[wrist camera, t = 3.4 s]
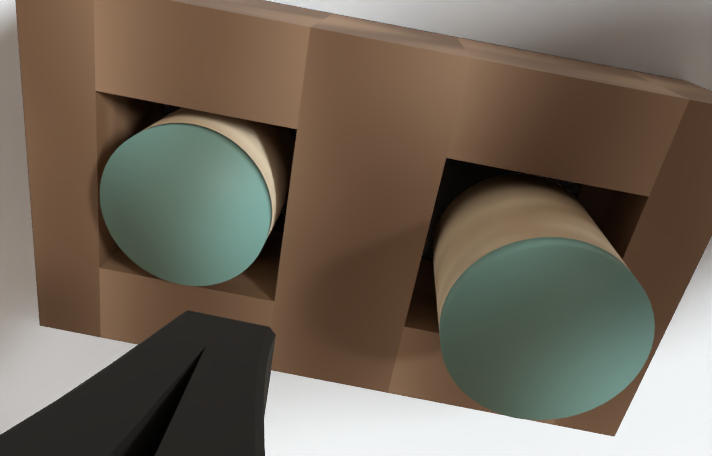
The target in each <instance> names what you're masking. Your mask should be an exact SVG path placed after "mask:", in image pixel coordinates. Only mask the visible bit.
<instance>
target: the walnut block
mask: <svg viewBox="0 0 712 456" xmlns="http://www.w3.org/2000/svg"><path fill="white" fill-rule="evenodd" d="M15 1H16V14H17V27H18V41H19V54H20V67H21V81H22V94H23V107H24V121H25V134H26V147H27V161H28V174H29V187H30V201H31V214H32V227H33V241H34V254H35V268H36V281H37V294H38V308H39V321H40V326H45V327H50V328H56V329H61V330H66V331H71V332H76V333H81V334H87V335H92V336H97V337H102V338H107V339H113V340H118V341H123V342H128V343H133V344H138V345H139V344H140V343H141V342H143V341H144V340H146V339H147V338H148V337H150V336H151V335H152V334H154V333H155V332H157V331H158V330H159V329H161V328H162V327H164V326H165V325H166V324H168V323H169V322H171V321H172V320H173V319H175V318H176V317H178V316H179V315H181V314H182V313H184V312H186V311H187V310H189V311H194V312H199V313H204V314H209V315H214V316H219V317H224V318H229V319H234V320H239V321H244V322H249V323H254V324H259V325H263V326H268V327H270V328H271V329H272V331H273V332H274V333H275V334H276V338H275V345H274V352H273V359H272V366H271V370H273V371H278V372H283V373H289V374H294V375H299V376H304V377H309V378H314V379H320V380H325V381H330V382H335V383H340V384H346V385H351V386H356V387H361V388H366V389H371V390H377V391H382V392H387V393H392V394H397V395H402V396H408V397H413V398H418V399H423V400H428V401H434V402H439V403H444V404H449V405H454V406H459V407H465V408H470V409H475V410H480V411H485V412H491V413H496V414H500V413H497V412H494V411H491V410H489V409H487V408H485V407H483V406H481V405H480V404H478V403H477V402H475V401H474V400H472V399H471V398H470V397H469V396H467V395H466V394H465V393H464V392H463V391H462V390H461V389H460V388H459V387H458V386H457V384H456V383H455V382H454V380H453V379H452V377H451V376H450V374H449V373H448V370H447V368H446V366H445V364H444V360H443V357H442V353H441V345H440V334H439V322H438V311H437V299H436V288H435V276H434V265H433V261H429V260H424V259H421V257H422V253H423V249H424V245H425V241H426V237H427V233H428V229H429V225H430V221H431V217H432V213H433V209H434V205H435V201H436V197H437V193H438V189H439V185H440V181H441V177H442V173H443V169H444V165H445V161H446V158H449V159H455V160H460V161H465V162H470V163H476V164H481V165H486V166H491V167H496V168H502V169H507V170H512V171H517V172H523V173H528V174H533V175H538V176H543V177H549V178H554V179H559V180H564V181H570V182H575V183H580V184H582V185H581V188H580V190H579V193H578V196H577V199H578V200H579V202H580V203H581V205H582V206H583V207H584V209H585V210H586V211H587V213H588V214H589V215H590V217H591V218H592V219H593V221H594V222H595V223H596V225H597V226H598V228H599V229H600V230H601V232H602V233H603V234H604V236H605V237H606V238H607V240H608V241H609V242H610V244H611V245H612V247H613V248H614V249H615V251H616V252H617V253H618V255H619V256H620V257H621V259H622V260H623V261H624V263H625V264H626V265H627V267H628V268H629V270H630V271H631V272H632V274H633V275H634V276H635V278H636V279H637V280H638V282H639V283H640V285H641V286H642V287H643V289H644V290H645V292H646V294H647V296H648V298H649V300H650V303H651V306H652V310H653V313H654V322H655V330H654V339H653V344H652V348H651V351H650V353H649V356H648V358H647V360H646V362H645V364H644V366H643V367H642V369H641V371H640V372H639V373H638V375H637V376H636V377H635V379H634V380H633V381H632V382H631V383H630V384H629V385H628V386H627V387H626V388H625V389H624V390H622V391H621V392H620V393H619V394H617V395H616V396H615V397H613V398H612V399H610V400H609V401H607V402H605V403H604V404H602V405H600V406H598V407H596V408H594V409H592V410H589V411H586V412H583V413H581V414H577V415H574V416H570V417H565V418H559V419H551V420H532V421H537V422H542V423H547V424H553V425H558V426H563V427H568V428H573V429H579V430H584V431H589V432H594V433H599V434H604V435H610V436H615V434H616V432H617V430H618V428H619V426H620V424H621V422H622V420H623V418H624V416H625V414H626V411H627V409H628V407H629V405H630V403H631V401H632V399H633V397H634V395H635V393H636V391H637V389H638V387H639V385H640V383H641V381H642V379H643V376H644V374H645V372H646V370H647V368H648V366H649V364H650V362H651V360H652V358H653V356H654V354H655V352H656V350H657V348H658V346H659V343H660V341H661V339H662V337H663V335H664V333H665V331H666V329H667V327H668V325H669V323H670V321H671V319H672V317H673V315H674V313H675V310H676V308H677V306H678V304H679V302H680V300H681V298H682V296H683V294H684V292H685V290H686V288H687V286H688V284H689V282H690V280H691V277H692V275H693V273H694V271H695V269H696V267H697V265H698V263H699V261H700V259H701V257H702V255H703V253H704V251H705V249H706V247H707V245H708V242H709V240H710V238H711V236H712V91H710V90H707V89H705V88H702V87H700V86H697V85H695V84H692V83H690V82H687V81H684V80H679V79H673V78H668V77H663V76H658V75H652V74H647V73H642V72H637V71H631V70H626V69H621V68H616V67H610V66H605V65H600V64H595V63H590V62H584V61H579V60H574V59H569V58H563V57H558V56H553V55H548V54H542V53H537V52H532V51H527V50H521V49H516V48H511V47H506V46H500V45H495V44H490V43H485V42H479V41H474V40H469V39H464V38H458V37H453V36H448V35H443V34H437V33H432V32H427V31H422V30H416V29H411V28H406V27H401V26H395V25H390V24H385V23H380V22H375V21H369V20H364V19H359V18H354V17H348V16H343V15H338V14H333V13H327V12H322V11H317V10H312V9H306V8H301V7H296V6H291V5H285V4H280V3H275V2H270V1H264V0H15ZM163 104H167V105H173V106H178V107H183V108H188V109H194V110H199V111H204V112H209V113H214V114H220V115H225V116H230V117H235V118H241V119H246V120H251V121H256V122H261V123H267V124H272V125H277V126H282V127H288V128H293V129H297V133H296V141H295V149H294V156H293V164H292V171H291V179H290V187H289V194H288V202H287V210H286V217H285V225H284V232H278V231H273V230H271V232H270V234H269V236H268V238H267V240H266V242H265V244H264V246H263V247H262V249H261V251H260V253H259V255H258V256H257V258H256V259H255V260H254V262H253V263H252V264H251V265H250V266H249V267H248V268H247V269H246V270H244V271H243V272H242V273H240V274H239V275H237V276H235V277H234V278H232V279H230V280H227V281H224V282H222V283H218V284H214V285H207V286H188V285H180V284H176V283H172V282H169V281H166V280H163V279H161V278H158V277H156V276H154V275H152V274H150V273H149V272H147V271H146V270H144V269H142V268H141V267H140V266H138V265H137V264H136V263H134V262H133V261H132V260H131V259H130V258H129V257H128V256H127V255H126V254H125V253H124V252H123V251H122V250H121V248H120V247H119V246H118V245H117V243H116V242H115V240H114V239H113V237H112V236H111V234H110V232H109V230H108V228H107V226H106V223H105V220H104V218H103V214H102V210H101V205H100V183H101V178H102V174H103V171H104V169H105V166H106V164H107V162H108V160H109V159H110V157H111V156H112V154H113V153H114V152H115V151H116V149H117V148H118V147H119V146H120V145H122V144H123V143H124V142H125V141H127V140H128V139H130V138H131V137H133V136H134V135H136V134H137V133H139V132H141V131H142V130H144V129H146V128H147V127H149V126H151V125H152V124H154V123H156V122H157V121H159V120H161V119H162V118H163ZM501 415H502V414H501Z"/></svg>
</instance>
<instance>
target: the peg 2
mask: <svg viewBox="0 0 712 456" xmlns="http://www.w3.org/2000/svg"><path fill="white" fill-rule="evenodd" d="M432 253H433V265H434V276H435V288H436V299H437V311H438V322H439V334H440V345H441V353H442V357H443V360H444V364H445V366H446V368H447V370H448V373H449V374H450V376H451V377H452V379H453V380H454V382H455V383H456V384H457V386H458V387H459V388H460V389H461V390H462V391H463V392H464V393H465V394H466V395H467V396H469V397H470V398H471V399H472V400H474V401H475V402H477V403H478V404H480V405H481V406H483V407H485V408H487V409H489V410H491V411H494V412H497V413H500V414H502V415H506V416H510V417H514V418H520V419H527V420H551V419H559V418H565V417H570V416H574V415H577V414H581V413H583V412H586V411H589V410H592V409H594V408H596V407H598V406H600V405H602V404H604V403H605V402H607V401H609V400H610V399H612V398H613V397H615V396H616V395H617V394H619V393H620V392H621V391H622V390H624V389H625V388H626V387H627V386H628V385H629V384H630V383H631V382H632V381H633V380H634V379H635V377H636V376H637V375H638V373H639V372H640V371H641V369H642V367H643V366H644V364H645V362H646V360H647V358H648V356H649V353H650V351H651V348H652V344H653V339H654V330H655V322H654V313H653V310H652V306H651V303H650V300H649V298H648V296H647V294H646V292H645V290H644V289H643V287H642V286H641V285H640V283H639V282H638V280H637V279H636V278H635V276H634V275H633V274H632V272H631V271H630V270H629V268H628V267H627V265H626V264H625V263H624V261H623V260H622V259H621V257H620V256H619V255H618V253H617V252H616V251H615V249H614V248H613V247H612V245H611V244H610V242H609V241H608V240H607V238H606V237H605V236H604V234H603V233H602V232H601V230H600V229H599V228H598V226H597V225H596V223H595V222H594V221H593V219H592V218H591V217H590V215H589V214H588V213H587V211H586V210H585V209H584V207H583V206H582V205H581V203H580V202H579V200H578V199H577V198H576V197H575V196H574V195H573V194H572V193H571V192H569V191H568V190H567V189H566V188H564V187H563V186H561V185H559V184H558V183H556V182H554V181H551V180H549V179H546V178H544V177H540V176H536V175H529V174H506V175H500V176H496V177H491V178H489V179H486V180H483V181H480V182H479V183H477V184H475V185H473V186H471V187H469V188H468V189H466V190H465V191H463V192H462V193H461V194H460V195H458V196H457V197H456V198H455V199H454V200H453V201H452V202H451V203H450V205H449V206H448V207H447V208H446V210H445V211H444V213H443V214H442V216H441V218H440V220H439V222H438V224H437V226H436V229H435V232H434V237H433V246H432Z"/></svg>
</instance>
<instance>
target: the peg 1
mask: <svg viewBox="0 0 712 456" xmlns="http://www.w3.org/2000/svg"><path fill="white" fill-rule="evenodd" d="M294 149H295V142H294V139H293V136H292V134H291V132H290V130H289V129H288V127H282V126H277V125H272V124H267V123H261V122H256V121H251V120H246V119H241V118H235V117H230V116H225V115H220V114H214V113H209V112H204V111H199V110H194V109H188V108H183V107H180V108H179V109H177V110H175V111H174V112H172V113H170V114H169V115H167V116H165V117H164V118H162V119H161V120H159V121H157V122H156V123H154V124H152V125H151V126H149V127H147V128H146V129H144V130H142V131H141V132H139V133H137V134H136V135H134V136H133V137H131V138H130V139H128V140H127V141H125V142H124V143H123V144H122V145H120V146H119V147H118V148H117V149H116V151H115V152H114V153H113V154H112V156H111V157H110V159H109V160H108V162H107V164H106V166H105V169H104V171H103V174H102V178H101V183H100V205H101V210H102V214H103V218H104V220H105V223H106V226H107V228H108V230H109V232H110V234H111V236H112V237H113V239H114V240H115V242H116V243H117V245H118V246H119V247H120V248H121V250H122V251H123V252H124V253H125V254H126V255H127V256H128V257H129V258H130V259H131V260H132V261H133V262H134V263H136V264H137V265H138V266H140V267H141V268H142V269H144V270H146V271H147V272H149V273H150V274H152V275H154V276H156V277H158V278H161V279H163V280H166V281H169V282H172V283H176V284H180V285H188V286H207V285H214V284H218V283H222V282H224V281H227V280H230V279H232V278H234V277H235V276H237V275H239V274H240V273H242V272H243V271H244V270H246V269H247V268H248V267H249V266H250V265H251V264H252V263H253V262H254V260H255V259H256V258H257V256H258V255H259V253H260V251H261V249H262V247H263V246H264V244H265V242H266V240H267V238H268V236H269V234H270V232H271V230H272V228H273V226H274V225H275V223H276V221H277V219H278V217H279V215H280V213H281V211H282V209H283V207H284V205H285V203H286V202H287V200H288V194H289V187H290V179H291V171H292V164H293V156H294Z"/></svg>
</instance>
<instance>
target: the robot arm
mask: <svg viewBox="0 0 712 456" xmlns="http://www.w3.org/2000/svg"><path fill="white" fill-rule="evenodd" d="M275 338H276V334H275V333H274V332H273V331H272V329H271V328H270V327H268V326H263V325H259V324H254V323H249V322H244V321H239V320H234V319H229V318H224V317H219V316H214V315H209V314H204V313H199V312H194V311H189V310H187V311H186V312H184V313H182V314H181V315H179V316H178V317H176V318H175V319H173V320H172V321H171V322H169V323H168V324H166V325H165V326H164V327H162V328H161V329H159V330H158V331H157V332H155V333H154V334H152V335H151V336H150V337H148V338H147V339H146V340H144V341H143V342H141V343H140V344H139V345H137V346H136V347H134V348H133V349H131V350H130V351H129V352H127V353H126V354H124V355H123V356H122V357H120V358H119V359H117V360H116V361H114V362H113V363H112V364H110V365H109V366H107V367H106V368H104V369H103V370H101V371H100V372H98V373H97V374H95V375H94V376H92V377H91V378H89V379H88V380H86V381H85V382H83V383H82V384H80V385H79V386H77V387H76V388H74V389H73V390H71V391H70V392H69V393H67V394H65V395H64V396H62V397H61V398H59V399H58V400H56V401H55V402H53V403H52V404H50V405H48V406H47V407H45V408H43V409H42V410H40V411H38V412H37V413H35V414H34V415H32V416H30V417H29V418H27V419H25V420H24V421H22V422H21V423H19V424H17V425H16V426H14V427H12V428H11V429H9V430H7V431H6V432H4V433H3V434H1V435H0V456H265V448H264V415H265V408H266V401H267V394H268V387H269V380H270V373H271V366H272V359H273V352H274V345H275Z"/></svg>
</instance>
